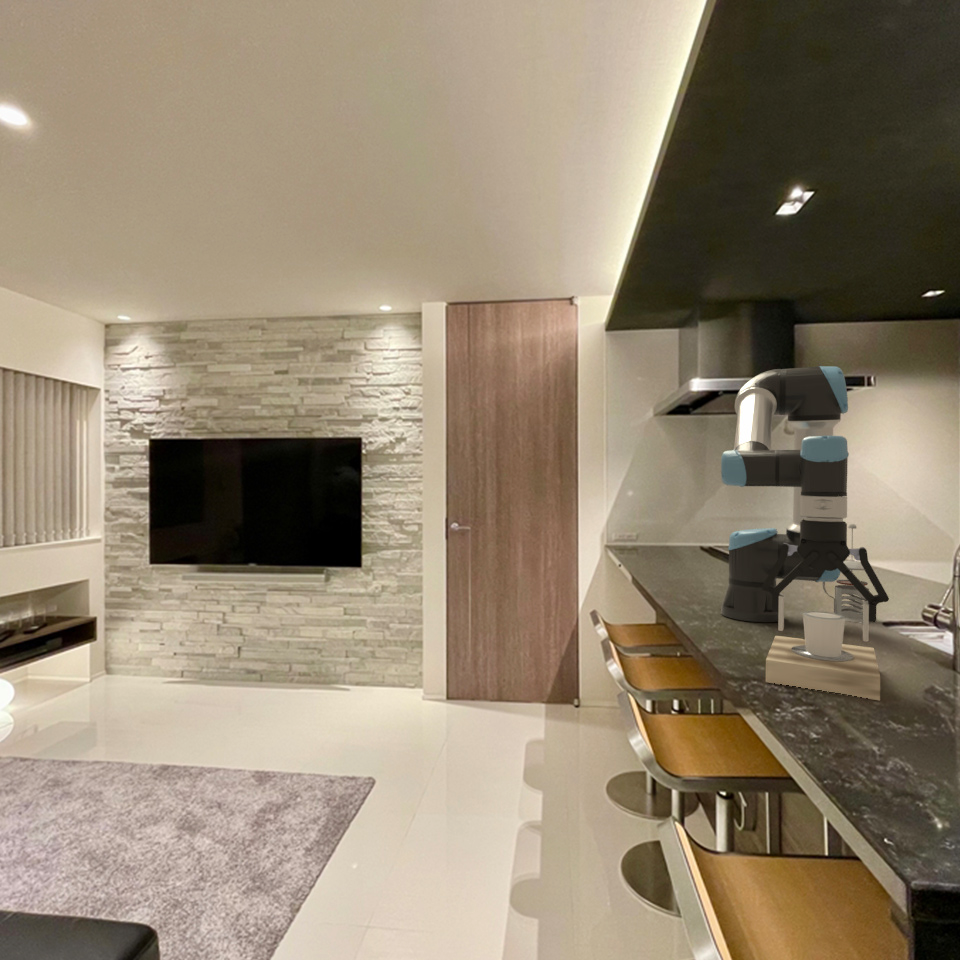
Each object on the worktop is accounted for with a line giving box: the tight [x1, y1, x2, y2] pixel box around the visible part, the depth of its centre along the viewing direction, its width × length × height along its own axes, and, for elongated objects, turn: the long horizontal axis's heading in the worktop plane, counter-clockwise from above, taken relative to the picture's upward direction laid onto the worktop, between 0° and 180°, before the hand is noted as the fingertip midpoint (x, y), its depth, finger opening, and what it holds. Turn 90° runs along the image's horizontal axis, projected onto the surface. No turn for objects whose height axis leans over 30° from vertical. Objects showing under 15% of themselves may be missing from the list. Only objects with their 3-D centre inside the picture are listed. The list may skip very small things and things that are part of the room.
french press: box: [822, 523, 870, 623], centre depth 161 cm, size 10×12×25 cm
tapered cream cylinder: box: [802, 611, 846, 657], centre depth 112 cm, size 7×7×7 cm
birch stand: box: [765, 635, 881, 701], centre depth 112 cm, size 20×17×4 cm
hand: (822, 634), depth 112 cm, fingers open, 13 cm apart
